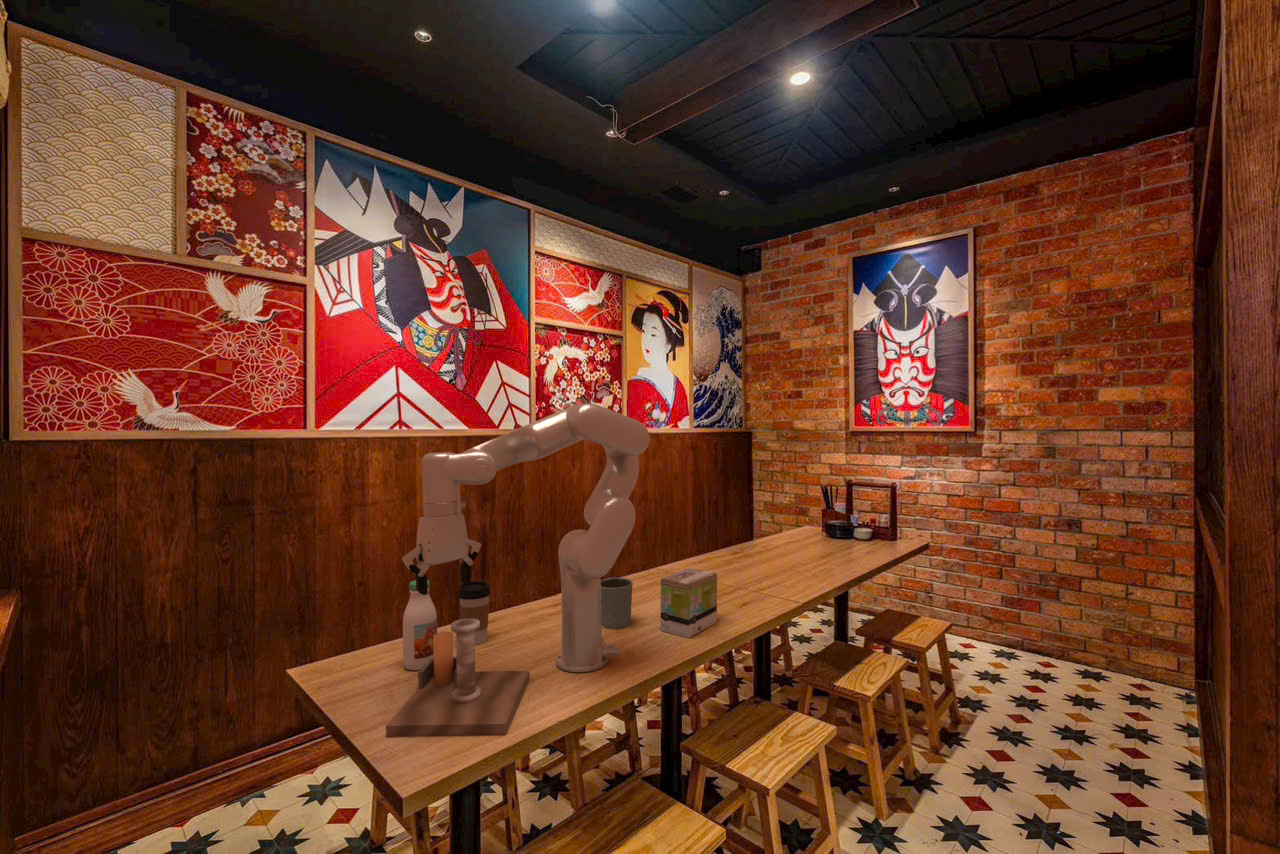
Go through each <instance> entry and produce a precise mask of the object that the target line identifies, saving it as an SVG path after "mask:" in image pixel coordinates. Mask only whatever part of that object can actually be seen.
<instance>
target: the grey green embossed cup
mask: <svg viewBox="0 0 1280 854" xmlns="http://www.w3.org/2000/svg"><path fill="white" fill-rule="evenodd" d="M600 580H601V627H603V628H604V629H605V628H606V629H608V630H620V629H625V627H626V628H628V627H629V626H631V622H632V621H631V620H632V615H631V614H632V603H633V602H632V600H633V598H632V596H633V583H634V582H633V580H632V579H629V578H625V577H610V578H609V577H607V578H604V579H600Z"/></svg>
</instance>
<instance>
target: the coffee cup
mask: <svg viewBox="0 0 1280 854" xmlns="http://www.w3.org/2000/svg"><path fill="white" fill-rule="evenodd" d="M458 591H459V592H458V594H457V595H458V596H457V597H458V599H459V611H460V619H467V618H474V619H478V620H479V621H480V627H479V629H477V630H475V646H477V645H478V646H479V645H481V644H484V643H486V642H487V640H488V639H487V638H488V628H489V627H488V626H489V617H490V616H489V613H490V602H491V601H490V595H491V594H492V591H491V589H490V585H489V584H488V583H487V582H483V581H477V580H475V581H473V580H470V584H465V583H461V584H460V585H459V590H458Z"/></svg>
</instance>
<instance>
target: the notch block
mask: <svg viewBox="0 0 1280 854" xmlns="http://www.w3.org/2000/svg"><path fill="white" fill-rule="evenodd" d="M453 674H454V675H455V689H457V656H453ZM417 675H418V676H417V677H418V686H417V688H418V687H419V689H423V688H424V686H425V685H426V684H427V683H428V682H429V680H430V679H431V678H432V677H433V676H434V657H432V658H431V659H430V660H429V661H428V662H427V663H426V664H425V666H424V667H423V668H422V669H421V670H418V673H417Z"/></svg>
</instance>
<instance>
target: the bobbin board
mask: <svg viewBox="0 0 1280 854" xmlns="http://www.w3.org/2000/svg"><path fill="white" fill-rule="evenodd" d="M479 627H480V621H479V620H478V619H474V618H467V619H461V618H460V619H458V620H454V621H453V622H451V623H450V632H451V633H453V634H454V633H455V636H456V637H455V638H456V639H455V641H456V643H455V644H456V657H457V689H455V675H454V674H453V679H454V680H453V682H452V683H450V684H448V685H444V686H437V685H435V684H434V676H433V677H432V678H431V679H430V680H429V682H428V683H427V684H426V685H425V686H424V688H423V689H419V687H418V686H417V688H416V690H415V691H414V692H413V693H412V695H410V697H408V699H407V700H406V702H405V703H403V705H402V706H401V707H400V709H399V710H398V711H397V712H396V714H394V716H393V717H392V718H391V719H390V721H389V722H388V723H387V724H386V725H385V732H386V735H385V736H386V737H387V736H389V737H390V736H392V737H431V736H432V737H444V736H447V737H449V736H496V735H495V734H506V735H507V733H508V730H509V728H508V727H510V726H509V725H511V724H512V721H511V720H513V719H514V716H515V714H516V712H517V709H518V706H519V704H520V703H521V700H522V698H523V695H524V693H525V690H526V688H527V686H528V683H529V681H530V670H501V671H500V670H497V671H496V670H495V671H489V670H487V671H476V645H475V630H477V629H479ZM512 718H513V719H512ZM506 732H507V733H506ZM493 734H494V735H493ZM389 737H387V738H389Z"/></svg>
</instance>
